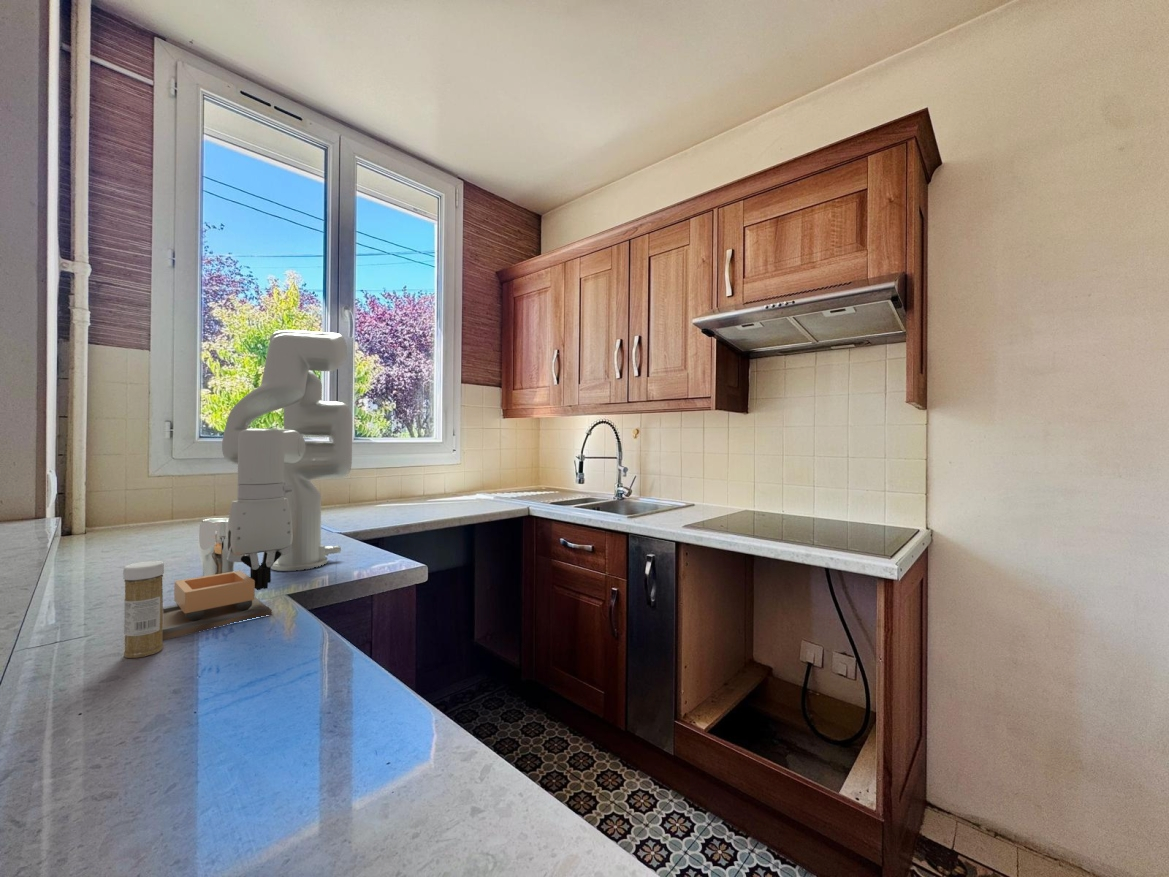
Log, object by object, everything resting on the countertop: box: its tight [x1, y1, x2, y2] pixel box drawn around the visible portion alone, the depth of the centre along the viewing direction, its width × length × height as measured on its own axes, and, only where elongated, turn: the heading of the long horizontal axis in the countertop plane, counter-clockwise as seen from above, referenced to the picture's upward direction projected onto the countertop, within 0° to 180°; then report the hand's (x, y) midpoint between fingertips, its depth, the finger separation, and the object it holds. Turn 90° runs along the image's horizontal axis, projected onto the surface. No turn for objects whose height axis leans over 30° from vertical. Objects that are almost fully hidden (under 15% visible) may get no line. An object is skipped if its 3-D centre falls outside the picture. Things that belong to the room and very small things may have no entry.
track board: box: [162, 597, 273, 641], centre depth 88 cm, size 18×14×2 cm
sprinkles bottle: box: [122, 560, 165, 659], centre depth 74 cm, size 5×5×14 cm
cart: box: [173, 570, 256, 621], centre depth 90 cm, size 10×10×5 cm
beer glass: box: [197, 517, 236, 577], centre depth 106 cm, size 7×7×15 cm
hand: (260, 587), depth 95 cm, fingers closed
